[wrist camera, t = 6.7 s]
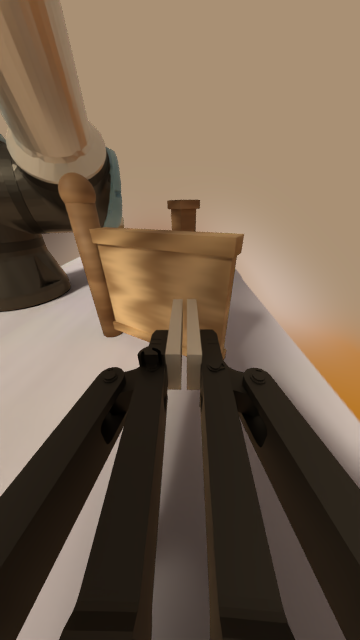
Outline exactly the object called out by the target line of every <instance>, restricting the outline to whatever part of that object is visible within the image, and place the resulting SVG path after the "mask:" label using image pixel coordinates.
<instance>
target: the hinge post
mask: <svg viewBox="0 0 360 640" xmlns="http://www.w3.org/2000/svg"><path fill="white" fill-rule="evenodd" d="M58 191H59V194H60V197H61V199H62V200H63V202H64V203H65V206H66V210H67V213H68V216H69V220H70V223H71V226H72V230H73V233H74V236H75V240H76V243H77V246H78V250H79V253H80V257H81V260H82V263H83V267H84V270H85V273H86V277H87V280H88V283H89V287H90V290H91V294H92V297H93V300H94V304H95V307H96V310H97V314H98V317H99V320H100V324H101V327H102V330H103V334H104V336H106V337H115V336H118V335H120V334H121V333H122V332H121V331H119V330H116V329H114V325H113V322H114V321H115V316H114V311H113V307H112V303H111V299H110V295H109V291H108V287H107V283H106V278H105V274H104V270H103V266H102V262H101V258H100V254H99V249H98V245H97V243H93V242H92V238H91V234H90V230H89V229H95V228H101V227H100V222H99V218H98V213H97V209H96V204H95V202H96V194H95V191H94V188H93V186H92V185H91V183H90V182H89V181H88V180H87V179H86V178H85V177H84V176H82V175H80V174H78V173H74V172H70V173H66V174H64V175H63V176H62V177H61V178H60V180H59V183H58Z"/></svg>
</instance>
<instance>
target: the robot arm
mask: <svg viewBox="0 0 360 640" xmlns="http://www.w3.org/2000/svg"><path fill="white" fill-rule="evenodd" d="M0 113H1V114H2V116H3V118H4V119H5V121H6V123H7V125H8V126H9V127H8V129H7V132H6V140H5V139H4V137H3V136H2V135H1V134H0V311H8V310H15V309H21V308H26V307H30V306H34V305H38V304H41V303H44V302H47V301H50V300H52V299H55V298H57V297H59V296H61V295H62V294H64V293H66V292H67V291H68V290H69V289H70V287H71V285H70V282H69V279H68V276H67V274H66V273H65V272H64V270H63V269H62V268H61V267H60V265H59V264H58V263H57V261H56V260H55V259H54V257H53V256H52V255H51V253H50V252H49V251H48V249H47V247H46V245H45V242H44V240H43V237H42V234H46V233H48V234H49V233H73V230H72V226H71V223H70V220H69V216H68V213H67V210H66V206H65V203H64V202H63V200H62V199H61V197H60V194H59V191H58V183H59V180H60V178H61V177H62V176H63V175H64V174H66V173H70V172H74V173H78V174H80V175H82V176H84V177H85V178H86V179H87V180H88V181H89V182H90V183H91V185H92V186H93V188H94V191H95V194H96V202H95V204H96V209H97V213H98V218H99V222H100V227H101V228H103V227H110V228H118V227H119V226H120V224H121V220H122V197H121V181H120V172H119V165H118V160H117V156H116V154H115V152H114V151H113V150H111V149H109V148H107V147H105V143H104V140H103V138H102V136H101V134H100V132H99V131H98V130H97V128H95V126H94V125H93V124H92V123H90V122H89V121H88V119H87V115H86V111H85V106H84V102H83V98H82V93H81V89H80V85H79V80H78V76H77V72H76V67H75V63H74V59H73V54H72V50H71V46H70V42H69V37H68V33H67V29H66V24H65V20H64V16H63V11H62V7H61V3H60V0H0ZM182 340H183V299H173V304H172V311H171V318H170V325H169V330H156V331H155V332H154V333H153V334H152V336H151V340H150V344H149V347H146V348H143V349H142V350H141V351H139V353H138V360H139V365H140V367H138V368H137V369H134V370H131V371H127V372H124V371H123V370H122V369H120V368H118V367H112V368H108V369H106V370H104V371H102V372H101V373H100V374H99V375H98V376H97V378H96V379H95V380H94V381H93V383H92V384H91V385H90V386H89V388H88V389H87V390H86V391H85V393H84V394H83V395H82V396H81V398H80V399H79V400H78V401H77V402H76V404H75V405H74V406H73V407H72V409H71V410H70V411H69V412H68V414H67V415H66V416H65V417H64V419H63V420H62V421H61V422H60V424H59V425H58V426H57V427H56V429H55V430H54V431H53V432H52V433H51V435H50V436H49V437H48V438H47V440H46V441H45V442H44V443H43V445H42V446H41V447H40V448H39V450H38V451H37V452H36V453H35V455H34V456H33V457H32V458H31V460H30V461H29V462H28V463H27V464H26V466H25V467H24V468H23V469H22V471H21V472H20V473H19V474H18V476H17V477H16V478H15V479H14V481H13V482H12V483H11V484H10V486H9V487H8V488H7V489H6V490H5V492H4V493H3V494H2V495H1V497H0V640H16V638H17V636H18V634H19V632H20V631H21V629H22V627H23V625H24V623H25V621H26V619H27V617H28V615H29V613H30V611H31V609H32V607H33V605H34V603H35V601H36V599H37V597H38V595H39V593H40V591H41V589H42V587H43V585H44V583H45V581H46V579H47V577H48V575H49V573H50V571H51V569H52V567H53V565H54V563H55V561H56V559H57V557H58V555H59V553H60V551H61V549H62V547H63V545H64V543H65V541H66V539H67V537H68V536H69V534H70V532H71V530H72V528H73V526H74V524H75V522H76V520H77V518H78V516H79V514H80V512H81V510H82V508H83V506H84V504H85V502H86V500H87V498H88V496H89V494H90V492H91V490H92V488H93V486H94V484H95V482H96V480H97V478H98V476H99V474H100V472H101V470H102V468H103V466H104V464H105V462H106V460H107V458H108V456H109V454H110V452H111V450H112V448H113V446H114V444H115V442H116V440H117V439H118V437H119V435H120V433H121V431H122V429H123V432H122V435H121V439H120V443H119V447H118V450H117V454H116V458H115V462H114V465H113V469H112V473H111V477H110V480H109V484H108V488H107V492H106V495H105V499H104V503H103V507H102V511H101V514H100V518H99V522H98V526H97V529H96V533H95V537H94V541H93V544H92V548H91V552H90V556H89V559H88V563H87V567H86V571H85V574H84V578H83V582H82V586H81V589H80V593H79V596H78V599H77V602H76V605H75V607H74V610H73V612H72V614H71V616H70V618H69V620H68V622H67V623H66V625H65V627H64V629H63V631H62V634H61V636H60V639H59V640H151V634H152V599H153V585H154V572H155V559H156V546H157V532H158V519H159V506H160V493H161V479H162V466H163V453H164V440H165V427H166V413H167V400H168V396H167V389H173V390H181V373H182ZM187 390H200V408H201V430H202V451H203V472H204V493H205V515H206V536H207V557H208V579H209V600H210V640H295V638H294V636H293V634H292V632H291V629H290V627H289V625H288V622H287V619H286V616H285V613H284V610H283V606H282V602H281V598H280V593H279V589H278V585H277V580H276V576H275V572H274V567H273V563H272V559H271V554H270V550H269V545H268V541H267V537H266V532H265V528H264V524H263V519H262V515H261V510H260V506H259V502H258V497H257V493H256V489H255V484H254V480H253V476H252V471H251V467H250V462H249V458H248V454H247V449H246V445H245V441H244V436H243V432H242V428H241V423H240V419H241V422H242V424H243V426H244V428H245V430H246V432H247V434H248V436H249V438H250V440H251V442H252V444H253V447H254V449H255V451H256V453H257V455H258V457H259V459H260V461H261V463H262V465H263V467H264V469H265V472H266V474H267V476H268V478H269V480H270V482H271V484H272V486H273V488H274V490H275V492H276V494H277V497H278V499H279V501H280V503H281V505H282V507H283V509H284V511H285V513H286V515H287V517H288V519H289V522H290V524H291V526H292V528H293V530H294V532H295V534H296V536H297V538H298V540H299V542H300V545H301V547H302V549H303V551H304V553H305V555H306V557H307V559H308V561H309V563H310V565H311V567H312V570H313V572H314V574H315V576H316V578H317V580H318V582H319V584H320V586H321V588H322V590H323V592H324V595H325V597H326V599H327V601H328V603H329V605H330V607H331V609H332V611H333V613H334V615H335V617H336V620H337V622H338V624H339V626H340V628H341V630H342V632H343V634H344V636H345V638H346V640H360V489H359V488H358V486H357V485H356V484H355V483H354V481H353V480H352V479H351V478H350V476H349V475H348V474H347V472H346V471H345V470H344V469H343V467H342V466H341V465H340V464H339V462H338V461H337V460H336V458H335V457H334V456H333V455H332V453H331V452H330V451H329V450H328V448H327V447H326V446H325V444H324V443H323V442H322V441H321V439H320V438H319V437H318V436H317V434H316V433H315V432H314V430H313V429H312V428H311V427H310V425H309V424H308V423H307V422H306V420H305V419H304V418H303V416H302V415H301V414H300V413H299V411H298V410H297V409H296V407H295V406H294V405H293V404H292V402H291V401H290V400H289V399H288V397H287V396H286V395H285V393H284V392H283V391H282V390H281V388H280V387H279V386H278V385H277V383H276V382H275V381H274V379H273V378H272V377H271V376H270V375H269V374H268V373H267V372H266V371H264V370H262V369H258V368H250V369H247V370H246V371H245V372H240V371H236V370H233V369H231V368H229V367H228V366H227V365H226V363H225V362H224V361H223V357H222V353H221V349H220V345H219V340H218V336H217V333H216V332H215V331H214V330H213V329H199V320H198V311H197V301H196V299H187ZM239 417H240V419H239ZM123 427H124V428H123Z"/></svg>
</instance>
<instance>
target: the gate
mask: <svg viewBox="0 0 360 640" xmlns="http://www.w3.org/2000/svg"><path fill="white" fill-rule="evenodd" d="M89 230H90V234H91V238H92V242H93V243H97V245H98V249H99V254H100V258H101V262H102V266H103V270H104V274H105V278H106V283H107V287H108V291H109V295H110V299H111V303H112V307H113V311H114V316H115V321H114V322H113V325H114V329H116V330H119V331H121V332H124V333H127V334H129V335H132V336H134V337H137V338H140V339H142V340H145V341H147V342H150V340H151V336H152V334H153V333H154V332H155V331H156V330H169V325H170V318H171V311H172V304H173V299H183V340H182V355H184V356H186V357H187V299H196V301H197V311H198V320H199V329H213V330H214V331H215V332H216V333H217V336H218V340H219V345H220V349H221V353H222V357H223V360H224V358H225V355H226V349H224V342H225V335H226V328H227V321H228V314H229V307H230V300H231V293H232V286H233V279H234V272H235V265H236V258H237V255H239V254H240V253H241V250H242V244H243V237H244V234H232V233H212V232H211V233H210V232H192V231H172V230H151V229H130V228H110V227H103V228H95V229H89Z"/></svg>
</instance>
